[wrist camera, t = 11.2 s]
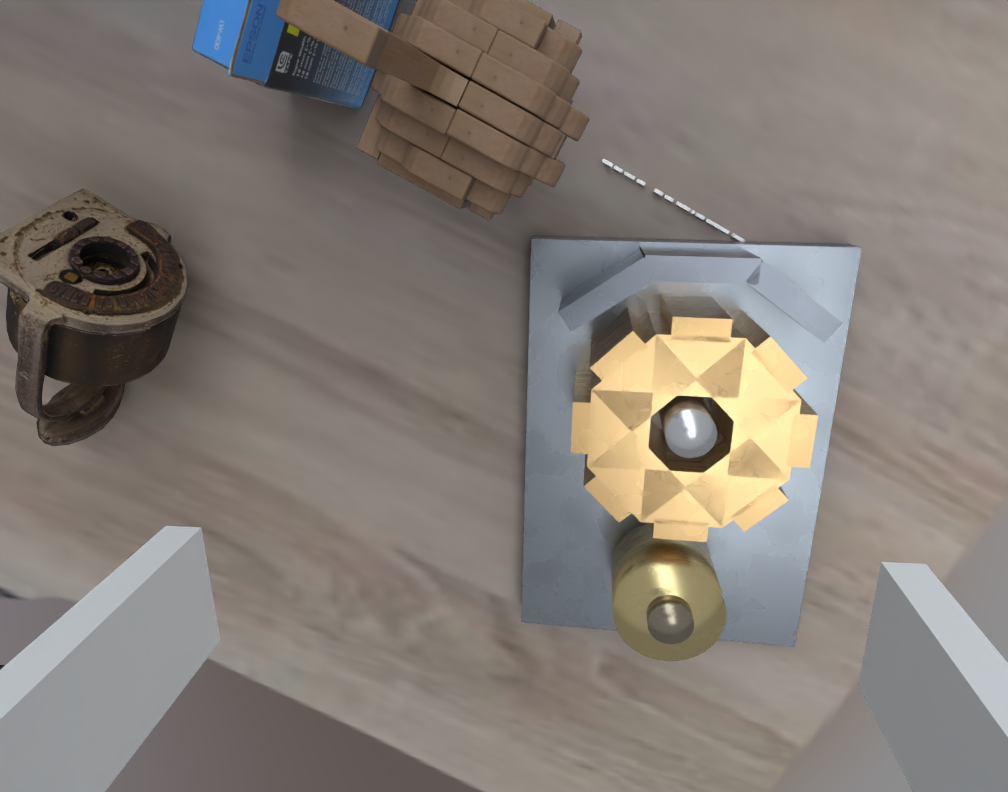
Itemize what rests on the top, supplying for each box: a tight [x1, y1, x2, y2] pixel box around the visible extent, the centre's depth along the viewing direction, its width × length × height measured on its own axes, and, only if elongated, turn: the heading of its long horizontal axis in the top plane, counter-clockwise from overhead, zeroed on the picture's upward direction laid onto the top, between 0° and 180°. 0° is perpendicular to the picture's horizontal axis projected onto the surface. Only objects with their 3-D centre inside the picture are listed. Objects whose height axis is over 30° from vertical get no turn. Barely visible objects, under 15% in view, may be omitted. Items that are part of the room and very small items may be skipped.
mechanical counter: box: [0, 189, 188, 446], centre depth 32 cm, size 7×13×10 cm, turn 161°
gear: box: [571, 295, 818, 542], centre depth 30 cm, size 9×9×5 cm
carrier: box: [521, 236, 862, 661], centre depth 32 cm, size 20×14×6 cm
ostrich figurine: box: [276, 0, 745, 242], centre depth 23 cm, size 17×7×18 cm, turn 62°
